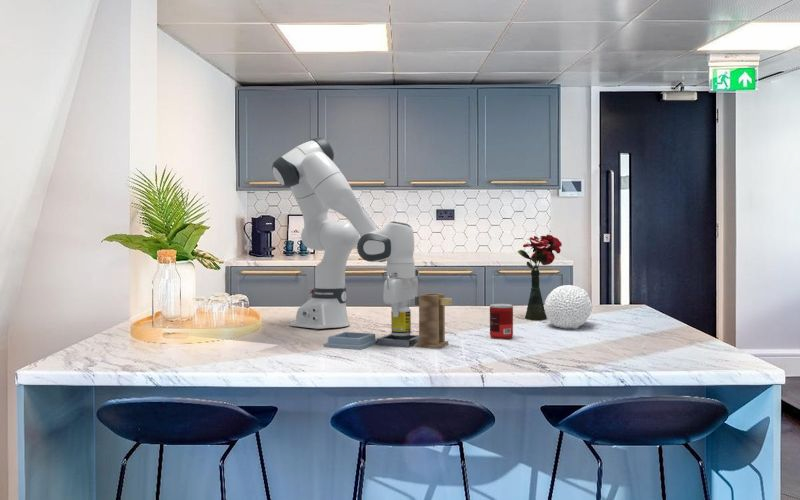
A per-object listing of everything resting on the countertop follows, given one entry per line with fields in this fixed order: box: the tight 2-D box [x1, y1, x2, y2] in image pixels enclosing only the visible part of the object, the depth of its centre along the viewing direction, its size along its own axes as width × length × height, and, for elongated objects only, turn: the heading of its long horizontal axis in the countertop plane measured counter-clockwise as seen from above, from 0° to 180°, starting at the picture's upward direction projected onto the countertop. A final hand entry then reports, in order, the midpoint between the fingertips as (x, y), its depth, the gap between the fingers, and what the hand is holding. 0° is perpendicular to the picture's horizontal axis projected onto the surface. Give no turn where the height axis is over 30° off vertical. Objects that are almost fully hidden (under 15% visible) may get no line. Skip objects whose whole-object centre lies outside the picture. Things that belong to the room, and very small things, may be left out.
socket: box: [376, 333, 419, 348], centre depth 195 cm, size 11×11×2 cm
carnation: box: [516, 234, 563, 321], centre depth 242 cm, size 16×18×35 cm
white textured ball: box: [543, 284, 593, 330], centre depth 225 cm, size 20×18×16 cm
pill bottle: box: [390, 301, 412, 336], centre depth 195 cm, size 6×6×11 cm
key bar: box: [414, 295, 453, 306], centre depth 190 cm, size 11×4×3 cm, turn 67°
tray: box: [323, 331, 377, 351], centre depth 192 cm, size 13×13×3 cm
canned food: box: [489, 303, 514, 340], centre depth 206 cm, size 8×8×11 cm
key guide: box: [414, 292, 449, 349], centre depth 190 cm, size 8×8×16 cm
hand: (400, 315), depth 195 cm, fingers closed on pill bottle, 6 cm apart
